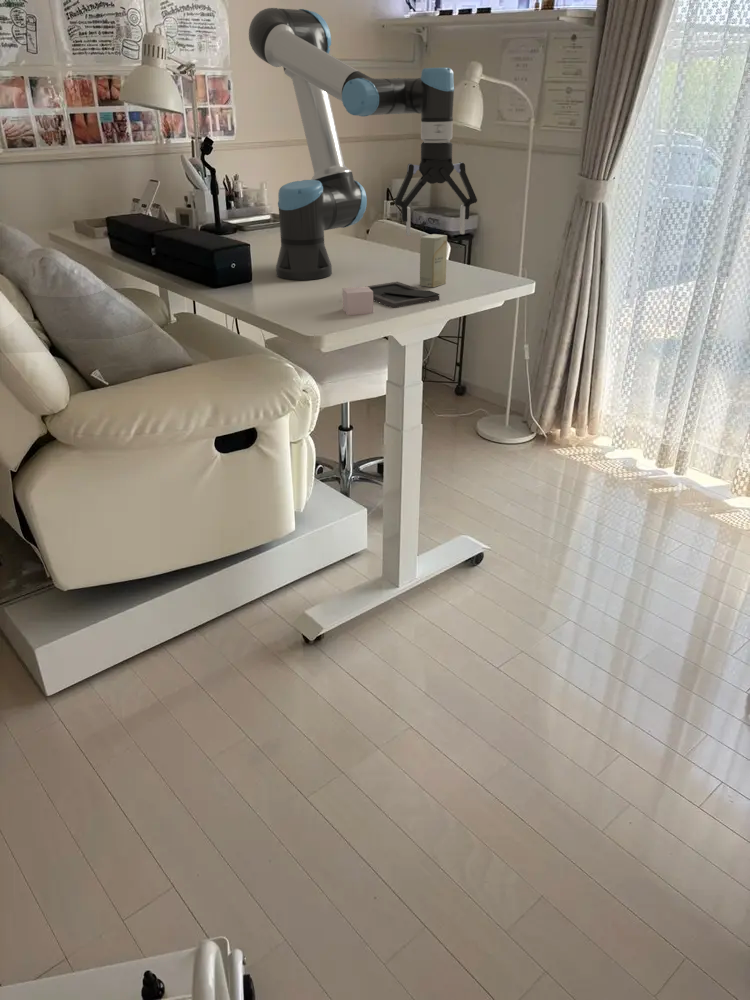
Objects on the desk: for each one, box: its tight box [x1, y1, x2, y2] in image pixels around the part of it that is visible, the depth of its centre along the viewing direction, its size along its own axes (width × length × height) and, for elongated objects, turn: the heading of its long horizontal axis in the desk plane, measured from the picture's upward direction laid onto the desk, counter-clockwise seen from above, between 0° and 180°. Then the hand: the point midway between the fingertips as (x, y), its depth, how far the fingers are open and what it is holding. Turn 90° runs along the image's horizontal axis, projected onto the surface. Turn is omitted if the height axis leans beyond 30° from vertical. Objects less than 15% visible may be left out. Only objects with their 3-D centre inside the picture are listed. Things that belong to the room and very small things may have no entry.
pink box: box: [341, 285, 374, 316], centre depth 180 cm, size 6×5×5 cm
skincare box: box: [419, 233, 448, 288], centre depth 201 cm, size 6×4×12 cm
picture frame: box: [364, 281, 440, 309], centre depth 193 cm, size 13×2×18 cm
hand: (435, 234), depth 198 cm, fingers open, 13 cm apart
